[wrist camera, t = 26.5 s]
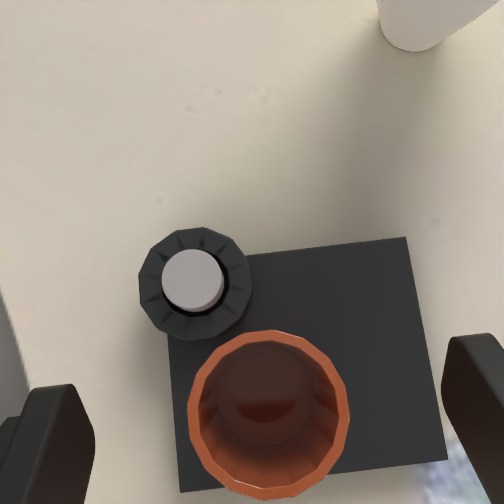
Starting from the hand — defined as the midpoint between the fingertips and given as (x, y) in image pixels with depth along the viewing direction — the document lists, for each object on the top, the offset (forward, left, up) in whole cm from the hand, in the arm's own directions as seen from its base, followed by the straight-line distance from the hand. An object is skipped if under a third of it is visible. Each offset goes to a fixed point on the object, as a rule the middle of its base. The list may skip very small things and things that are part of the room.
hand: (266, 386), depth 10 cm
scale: (+2, 0, -17) cm, 18 cm away
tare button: (-3, +5, -14) cm, 15 cm away
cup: (0, -1, -16) cm, 16 cm away
